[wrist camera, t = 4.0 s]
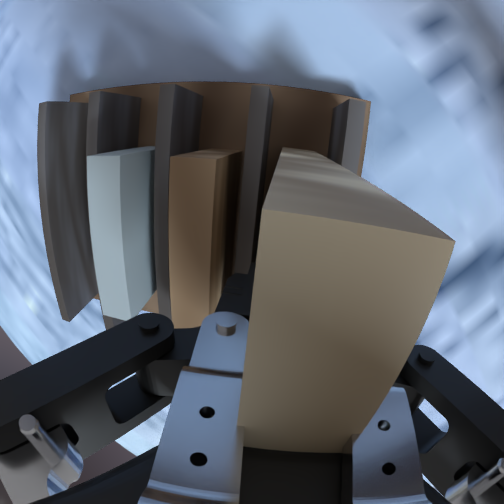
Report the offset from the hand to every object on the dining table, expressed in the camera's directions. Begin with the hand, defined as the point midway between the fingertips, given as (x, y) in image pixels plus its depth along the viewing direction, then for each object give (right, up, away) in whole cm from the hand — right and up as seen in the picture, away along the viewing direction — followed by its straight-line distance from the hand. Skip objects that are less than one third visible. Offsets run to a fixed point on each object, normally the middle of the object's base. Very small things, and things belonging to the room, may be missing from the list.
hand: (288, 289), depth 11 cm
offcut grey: (-8, +4, +8) cm, 12 cm away
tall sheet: (+1, +3, +8) cm, 9 cm away
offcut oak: (-3, +4, +8) cm, 10 cm away
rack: (-6, +5, +10) cm, 12 cm away
